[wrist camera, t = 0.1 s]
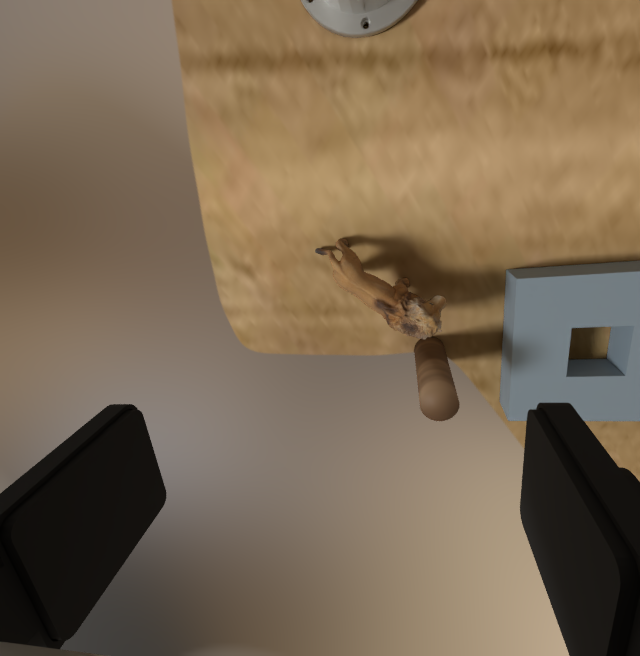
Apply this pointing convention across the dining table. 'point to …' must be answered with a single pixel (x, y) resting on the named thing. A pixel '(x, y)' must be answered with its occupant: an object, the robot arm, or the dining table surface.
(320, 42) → the dining table surface
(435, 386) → the peg
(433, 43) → the dining table surface
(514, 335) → the socket block
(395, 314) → the lion figurine
